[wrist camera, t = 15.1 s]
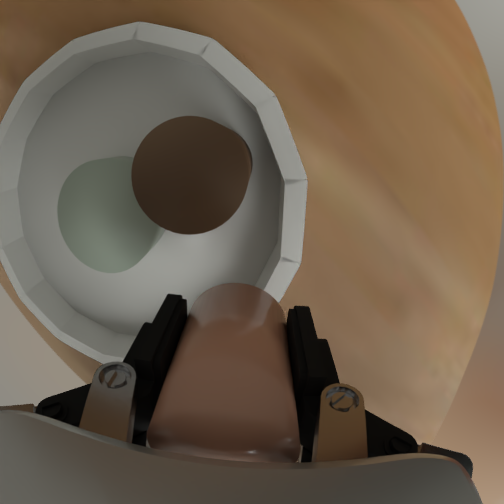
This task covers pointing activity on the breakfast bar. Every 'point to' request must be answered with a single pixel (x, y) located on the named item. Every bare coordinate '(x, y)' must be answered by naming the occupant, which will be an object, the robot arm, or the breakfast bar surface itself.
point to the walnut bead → (191, 174)
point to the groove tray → (117, 122)
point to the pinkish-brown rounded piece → (230, 382)
